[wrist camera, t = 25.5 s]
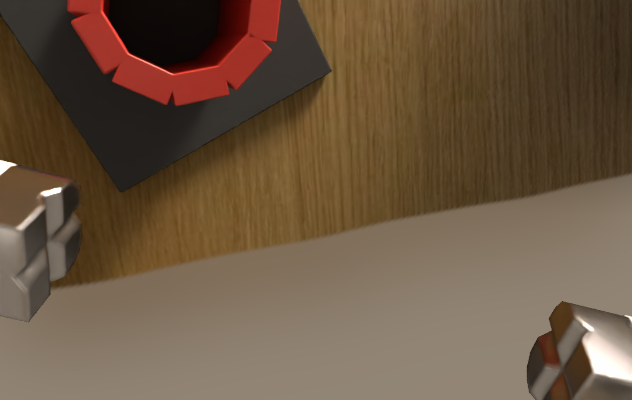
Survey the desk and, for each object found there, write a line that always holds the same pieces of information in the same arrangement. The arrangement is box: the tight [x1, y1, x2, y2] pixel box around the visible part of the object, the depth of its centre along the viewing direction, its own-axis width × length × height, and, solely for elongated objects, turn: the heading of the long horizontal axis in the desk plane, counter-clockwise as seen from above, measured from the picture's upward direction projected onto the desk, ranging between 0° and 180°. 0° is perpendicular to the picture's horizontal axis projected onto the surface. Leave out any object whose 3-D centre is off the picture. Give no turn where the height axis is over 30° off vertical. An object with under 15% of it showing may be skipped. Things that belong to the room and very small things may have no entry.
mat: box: [0, 0, 332, 192], centre depth 25 cm, size 11×11×1 cm
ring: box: [67, 0, 281, 106], centre depth 22 cm, size 6×7×7 cm
